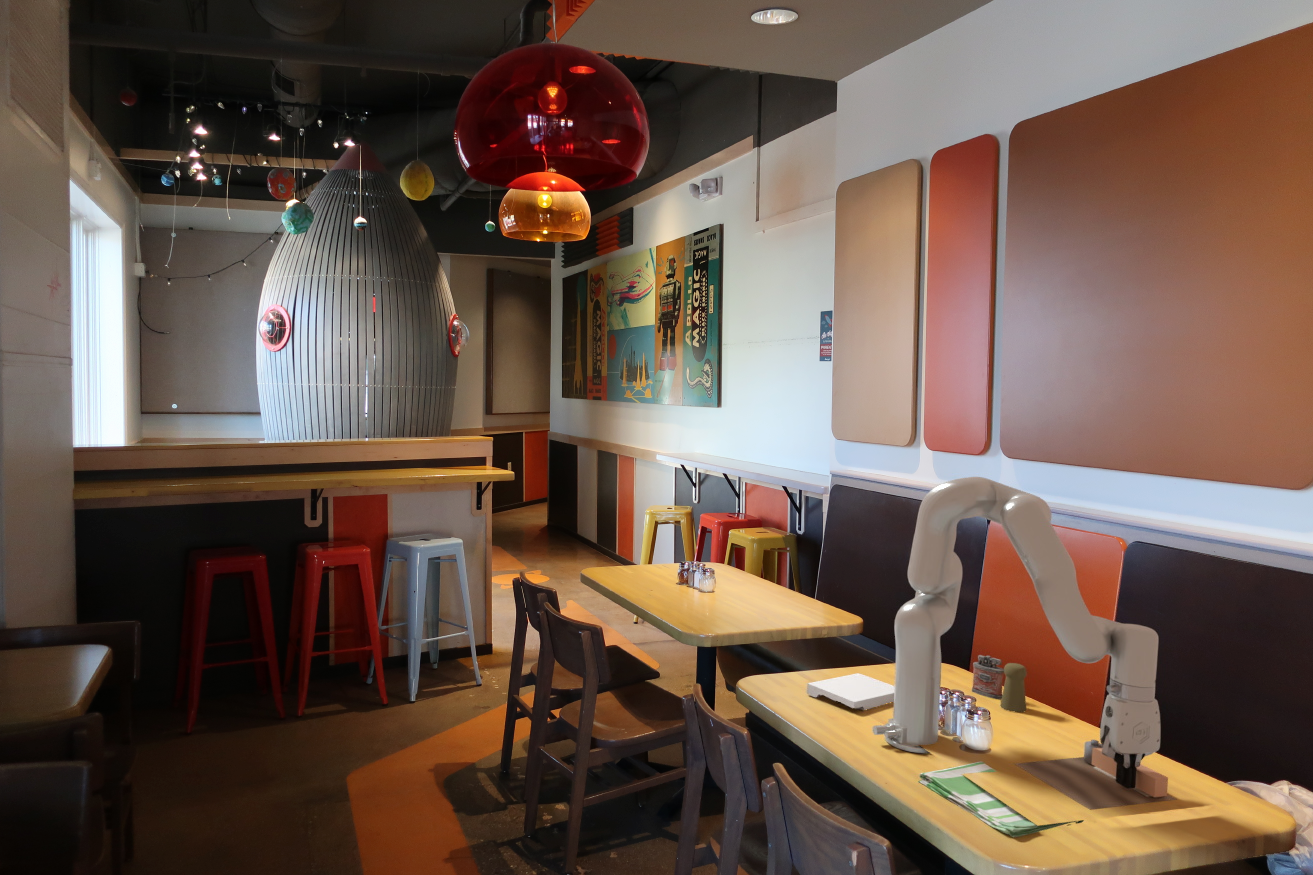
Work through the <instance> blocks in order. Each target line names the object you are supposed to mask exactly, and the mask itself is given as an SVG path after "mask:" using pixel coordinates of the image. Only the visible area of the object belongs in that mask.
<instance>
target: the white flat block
mask: <svg viewBox="0 0 1313 875" xmlns="http://www.w3.org/2000/svg"><path fill="white" fill-rule="evenodd" d="M894 691H895V685H892V684H890V683H887V682H884V681H881V680H879V679H875V678H873V677H871V676H868V675H866V674H865V675H864V674H862V673H859V672H857V673H852V674H847V675H842V676H837V677H832V678H828V679H823V680H817V681H813V682H808V683H806V694H807V695H809V696H811V697H813V698H819V697H821V696H825V697H826V698H828V699H830V700H832V701H833V702H836V701H838V702H841V703H840V704H843V705H844V706H846V707H849V708H850V709H853V708H855V709H854V710H862V711H864V710H866V709H868V710H870V709H874V708H873V707H876V708H878V707H877V706H879V707H881V706H880V705H883V706H885V705H884V704H886V703H890V702H893V703H894ZM838 702H837V703H838ZM890 704H891V703H890ZM886 705H887V704H886ZM866 711H867V710H866Z"/></svg>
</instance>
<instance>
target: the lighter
mask: <svg viewBox="0 0 1313 875" xmlns="http://www.w3.org/2000/svg"><path fill="white" fill-rule="evenodd" d="M977 660H978V661H974V662H973V664H972V666H973V672H972V673H973V676H972V687H971V692H972V693H974V694H978V695H979V696H983V697H986V698H990V699H994V700H1002V695H1003V679H1004V674H1005V673H1004V668H1002V667H999V666H1001V665H1002V660H1001V659H1000V658H999V659H998V658H995V657H992V656H990V655H986V656H985V655H982V654H979V655H978V656H977Z"/></svg>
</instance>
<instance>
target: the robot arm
mask: <svg viewBox="0 0 1313 875" xmlns="http://www.w3.org/2000/svg"><path fill="white" fill-rule="evenodd" d="M1051 511H1052V510H1051V508H1050V506H1049V504H1048V503H1047V502H1046V501H1045V500H1044V499H1043V498H1041V496H1038V495H1034V494H1032V493H1030V492H1026V491H1023V490H1021V489H1017V488H1014V487H1012V486H1009V485H1006V484H1003V483H1001V482H997V481H995V480H993V479H990V478H986V477H981V476H970V477H962V478H957V479H953V480H948V481H945V482H943V483H939V485H936V486H935V487H933V488H932V489H931V490H929V491H928V492H927V493H926V495H925V496H924V497H923V499H922V501H921V503H920V505H919V508H918V513H917V519H916V523H915V524H916V525H915V531H914V534H913V539H912V545H911V550H910V555H909V556H910V557H909V561H908V562H909V563H908V567H907V579H908V583H909V585H910V587H911V588H912V589H913V590H914V591H915V594H914V595H915V596H914V598H912V599H910V600H908V601H906V602H905V603H904V604H903V605H901V606H900V608H899V609H898V610H897V613H896V615H895V619H894V636H895V637H894V639H895V640H894V641H895V676H894V686H895V691H894V702H893V711H892V712H893V714H892V715H893V717H892V718H888V723H887V722H886V723H885V724H884V725H882V724H878V725H873V726H872V733H873V735H874V736H878V735H883V736H884V740H885V741H886V742H887V744H889V745H891V746H893V747H895V748H896V749H899V750H903V751H906V752H909V753H916V754H931V752H930V751H929V750H927V749H926V748H924V747H923V746H926V745H927V746H928V745H932V744H933V745H934V744H936V743H937V742H938V739H939V723H940V722H939V719H940V704H941V702H940V700H941V683H942V682H941V679H942V652H941V651H942V650H941V636H943V635H945V633H947V632H948V631H949V630H950V629H951V628H952V626H953V624H954V622H955V618H956V615H957V614H956V613H957V609H958V603H959V598H960V593H961V592H960V591H961V585H962V581H963V565H962V561H961V559H960V557H959V556H958V555H957V553H956V552H955V551H954V550H955V544H956V539H957V529H958V528H957V525H958V524H959V522H960V521H961V520H965V519H969V518H970V519H971V518H976V517H980V518H983V519H986V520H989V521H991V522H994V523H997V524H999V525H1001V526H1002V528H1003V530H1004V532H1005V535H1006V536H1007V538H1008V539H1009V541H1010V543H1011V544H1012V547H1013V548H1014V550H1015V552H1016V553H1017V555H1018V557H1019V559H1020V560H1021V562H1022V564H1023V566H1024V567H1025V570H1026V572H1027V573H1028V575H1029V577H1030V578H1031V580H1032V583H1033V586H1034V590H1035V592H1036V594H1037V597H1038V600H1039V602H1040V605H1041V607H1042V610H1043V612H1044V615H1045V617H1046V619H1047V621H1048V623H1049V624H1050V626H1051V628H1052V630H1053V632H1054V634H1055V635H1056V637H1057V639H1058V640H1059V642H1060V644H1061V645H1062V648H1063V649H1064V650H1065V651H1066V653H1067V654H1068V655H1069V656H1070V657H1071V658H1072V659H1074V660H1076V661H1077V662H1079V663H1080V662H1081V663H1082V664H1083V663H1085V664H1093V663H1097V662H1099V661H1101V660H1102V659H1104V658H1105V657H1106V655H1108V656H1110V658H1111V659H1110V660H1111V662H1110V674H1109V675H1110V677H1109V685H1107V686H1106V691H1107V693H1108V694H1107V695H1106V697H1105V698H1106V699H1105V701H1104V704H1103V705H1104V706H1103V710H1102V715H1101V720H1100V728H1099V729H1100V730H1099V740H1100V742H1099V743H1100V744H1102V745H1103V748H1102V754H1104V755H1105V756H1107V757H1111V758H1113V759H1114V761H1115V762H1116V763H1117V768H1116V782H1117V783H1118V784H1120V785H1122V786H1124V787H1125V788H1127V789H1128V788H1135V786H1136V771H1137V768H1136V767H1139V766H1140V764H1141V762H1142V761H1143V759H1144V758H1145V757H1148V756H1150V755H1153V754H1154V753H1157V751H1159V750H1160V748H1161V713H1160V712H1161V711H1160V706H1159V702H1158V700H1157V699H1156V698H1155V696H1156V695H1155V694H1156V683H1157V682H1156V680H1157V668H1158V653H1159V635H1158V633H1157V632H1156V630H1155V629H1153V628H1151V627H1148V626H1144V625H1141V624H1136V623H1135V624H1134V623H1121V622H1118V621H1114V620H1111V619H1109V618H1105V617H1101V616H1097V615H1092V614H1091V612H1090V611H1089V608H1088V607H1087V606H1086V603H1085V601H1084V599H1083V597H1082V595H1081V591H1080V589H1079V586H1078V585H1079V584H1078V581H1077V571H1076V567H1075V563H1074V560H1073V559H1072V557H1071V556H1070V554H1069V552H1068V550H1067V548H1066V547H1065V545H1064V544H1063V541H1062V540H1061V538H1060V537H1059V535H1058V534H1057V532H1056V530H1055V528H1054V527H1053V526H1054V525H1052V522H1051V521H1052V512H1051ZM922 745H923V746H922Z"/></svg>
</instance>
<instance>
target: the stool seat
mask: <svg viewBox="0 0 1313 875" xmlns="http://www.w3.org/2000/svg"><path fill="white" fill-rule="evenodd" d="M1014 765H1015V766H1016V767H1018V768H1021V769H1022V770H1024V771H1025V772H1027V773H1029V774H1030V775H1032V776H1034V777H1035V778H1037V779H1039V780H1040V781H1042V782H1044V783H1046V784H1047V785H1048V786H1050V787H1052V788H1054V789H1055V790H1057V791H1058V792H1060V793H1062V794H1063V795H1065V796H1067V797H1068V798H1070V799H1072V800H1073V801H1075V802H1076V803H1078V804H1080V805H1081V806H1083V807H1085V808H1087V809H1088V810H1091V811H1092V810H1098V809H1107V808H1109V809H1110V808H1116V807H1125V806H1126V807H1127V806H1132V805H1133V806H1135V805H1141V804H1142V805H1143V804H1151V803H1159V802H1160V803H1161V802H1167V801H1168V802H1169V801H1175V800H1176V801H1177V800H1178V799H1177V798H1176V797H1174V796H1172V795H1170V794H1168V793H1167V796H1162V797H1153V796H1151V795H1149V794H1147V793H1145V792H1143V791H1141V790H1139V789H1138V788H1136V787H1135V788H1128V789H1127V788H1125V787H1124V786H1122V785H1120V784H1118V783H1117V782H1116V777H1115V776H1113V775H1111V774H1109V773H1107V772H1105V771H1103V770H1102V769H1100V768H1098V767H1096V766H1094V765H1092V764H1089V763H1087V762H1085V761H1084V756H1081V757H1080V756H1079V757H1071V758H1070V757H1069V758H1068V757H1067V758H1061V759H1060V758H1059V759H1058V758H1057V759H1050V760H1048V759H1047V760H1039V761H1030V762H1029V761H1028V762H1018V763H1016V762H1015V763H1014Z"/></svg>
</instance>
